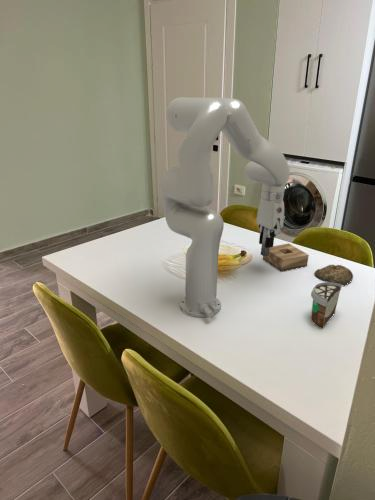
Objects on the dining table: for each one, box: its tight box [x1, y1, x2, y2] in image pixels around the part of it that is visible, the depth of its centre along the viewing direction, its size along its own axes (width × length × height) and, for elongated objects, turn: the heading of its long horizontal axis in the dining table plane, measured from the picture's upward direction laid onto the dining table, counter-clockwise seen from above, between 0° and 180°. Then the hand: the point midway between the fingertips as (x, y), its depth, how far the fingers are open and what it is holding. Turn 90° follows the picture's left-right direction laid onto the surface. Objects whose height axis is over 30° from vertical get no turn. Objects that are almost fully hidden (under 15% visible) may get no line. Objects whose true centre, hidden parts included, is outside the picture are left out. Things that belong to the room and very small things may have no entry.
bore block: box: [262, 243, 309, 273], centre depth 145 cm, size 12×12×5 cm
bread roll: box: [313, 264, 354, 286], centre depth 134 cm, size 13×12×5 cm
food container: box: [310, 281, 342, 329], centre depth 109 cm, size 12×6×10 cm, turn 141°
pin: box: [260, 227, 273, 257], centre depth 134 cm, size 3×3×11 cm
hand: (265, 244), depth 135 cm, fingers closed on pin, 3 cm apart
